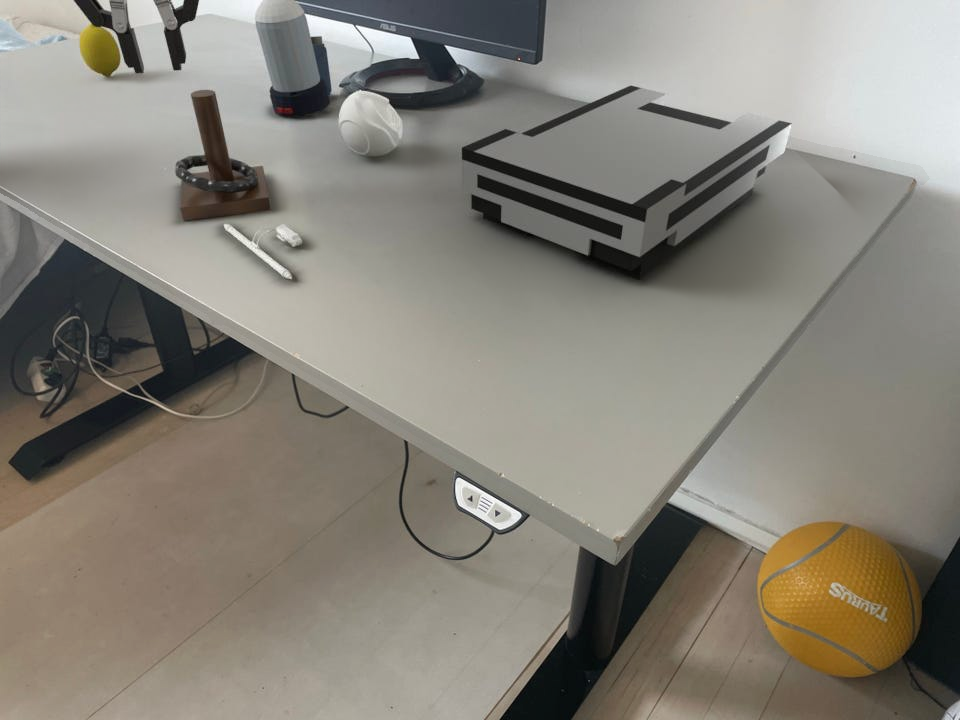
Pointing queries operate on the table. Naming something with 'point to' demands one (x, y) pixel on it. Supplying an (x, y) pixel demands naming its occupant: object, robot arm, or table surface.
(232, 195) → the stand
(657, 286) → the table surface
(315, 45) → the vaping device
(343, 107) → the white ridged ball
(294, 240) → the picture light
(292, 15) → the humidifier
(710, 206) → the game console
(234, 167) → the ring
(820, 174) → the table surface
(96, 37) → the lemon
